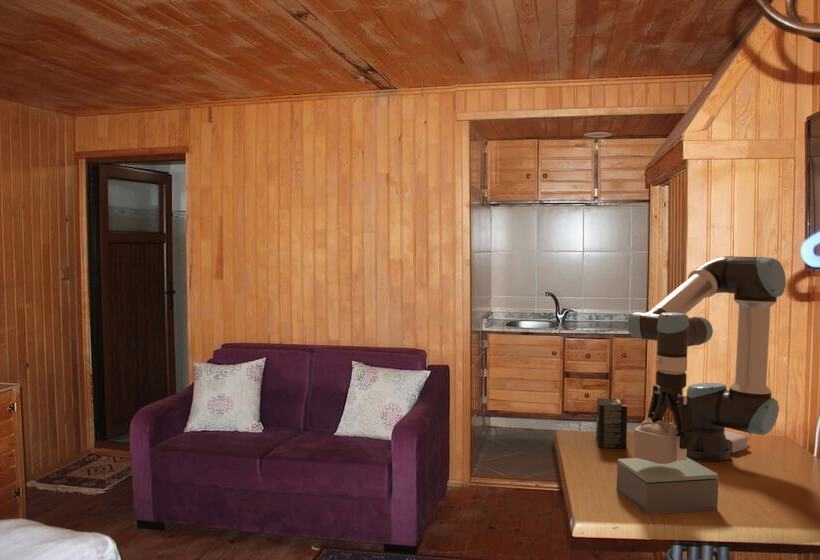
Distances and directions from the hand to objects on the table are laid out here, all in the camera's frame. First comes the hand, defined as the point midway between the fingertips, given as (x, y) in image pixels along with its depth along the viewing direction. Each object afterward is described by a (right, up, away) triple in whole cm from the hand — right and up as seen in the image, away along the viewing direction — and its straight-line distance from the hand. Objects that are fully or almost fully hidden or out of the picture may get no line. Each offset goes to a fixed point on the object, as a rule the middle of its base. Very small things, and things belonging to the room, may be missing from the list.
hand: (668, 452), depth 179 cm
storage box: (0, -13, +2) cm, 13 cm away
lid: (0, -5, +1) cm, 5 cm away
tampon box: (0, -10, +51) cm, 52 cm away
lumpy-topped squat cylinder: (-3, -1, 0) cm, 3 cm away
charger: (+40, -11, +48) cm, 63 cm away
